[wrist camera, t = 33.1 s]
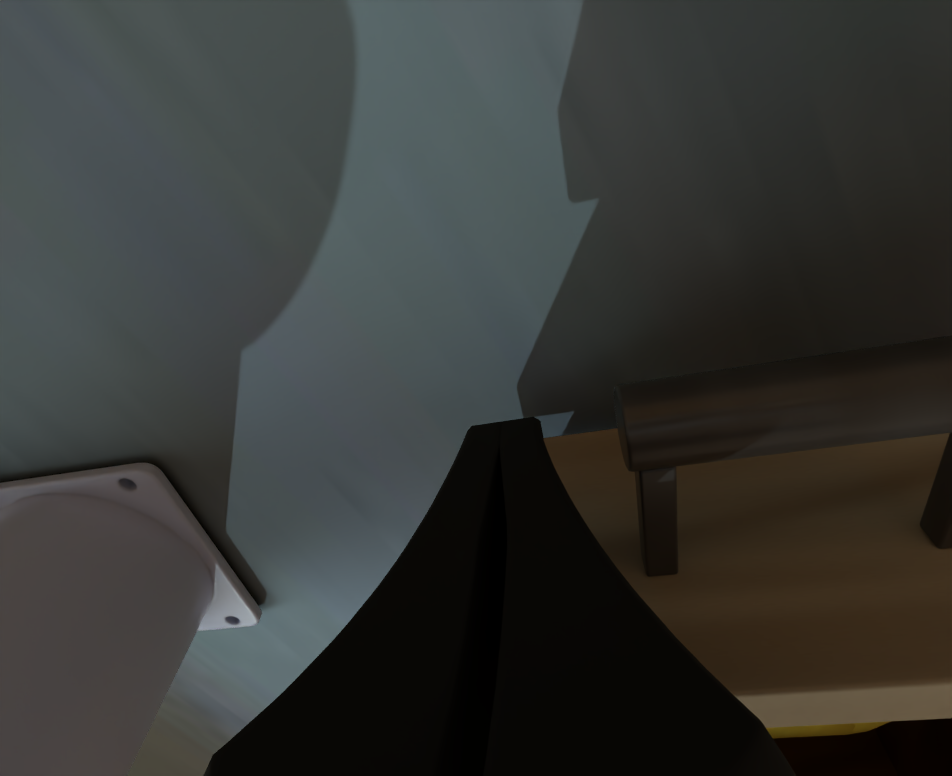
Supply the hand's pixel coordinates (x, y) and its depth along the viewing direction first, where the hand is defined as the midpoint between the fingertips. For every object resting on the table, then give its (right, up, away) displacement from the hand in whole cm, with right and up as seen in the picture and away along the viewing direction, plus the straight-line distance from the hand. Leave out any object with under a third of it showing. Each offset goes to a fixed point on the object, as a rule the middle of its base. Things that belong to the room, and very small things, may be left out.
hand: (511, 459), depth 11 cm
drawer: (+6, -3, +5) cm, 8 cm away
